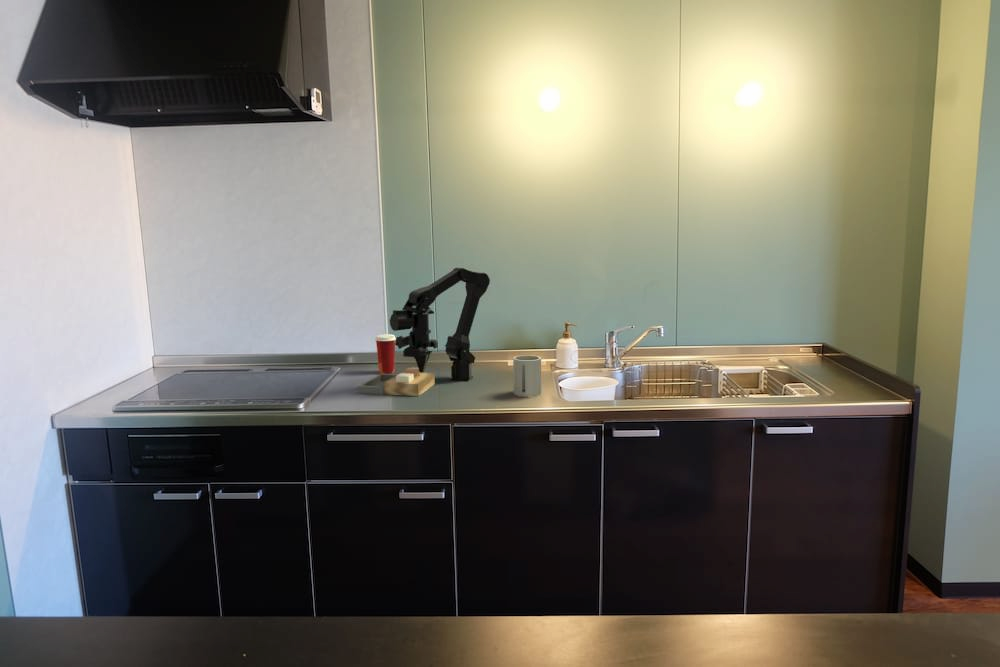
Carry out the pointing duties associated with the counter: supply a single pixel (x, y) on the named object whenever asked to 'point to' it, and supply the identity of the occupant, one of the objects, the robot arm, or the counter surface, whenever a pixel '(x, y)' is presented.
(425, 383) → the wooden flat block
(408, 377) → the off-white tile
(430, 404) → the counter surface
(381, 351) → the paper cup
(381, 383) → the box
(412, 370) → the terracotta tile
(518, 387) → the cup
